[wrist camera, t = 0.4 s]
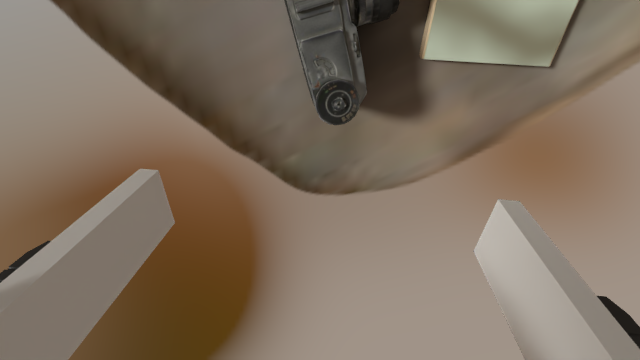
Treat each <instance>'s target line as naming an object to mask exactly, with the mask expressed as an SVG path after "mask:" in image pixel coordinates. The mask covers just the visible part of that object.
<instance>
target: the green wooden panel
mask: <svg viewBox="0 0 640 360" xmlns="http://www.w3.org/2000/svg"><path fill="white" fill-rule="evenodd" d="M578 2H579V0H431V1H430V6H429V10H428V15H427V20H426V25H425V29H424V34H423V39H422V43H421V48H420V53H419V57H420V58H422V59H429V60H445V61H462V62H479V63H496V64H513V65H530V66H546V67H549V66H550V65H551V62H552V60H553V58H554V56H555V53H556V51H557V49H558V47H559V45H560V42H561V40H562V38H563V36H564V33H565V31H566V29H567V27H568V24H569V22H570V20H571V18H572V16H573V13H574V11H575V9H576V7H577V4H578Z"/></svg>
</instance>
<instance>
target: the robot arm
mask: <svg viewBox="0 0 640 360" xmlns="http://www.w3.org/2000/svg"><path fill="white" fill-rule="evenodd" d="M174 223H175V222H174V219H173V215H172V212H171V209H170V206H169V203H168V199H167V196H166V193H165V190H164V187H163V184H162V181H161V177H160V174H159V171H158V170H148V169H139V170H138V171H137V172H135V173H134V174H133V175H132V176H130V177H129V178H128V179H127V180H126V181H124V182H123V183H122V184H121V185H119V186H118V187H117V188H116V189H115V190H113V191H112V192H111V193H110V194H108V195H107V196H106V197H105V198H104V199H102V200H101V201H100V202H99V203H98V204H96V205H95V206H94V207H93V208H92V209H90V210H89V211H88V212H86V213H85V214H84V215H83V216H82V217H80V218H79V219H78V220H77V221H76V222H74V223H73V224H72V225H71V226H69V227H68V228H67V229H66V230H65V231H63V232H62V233H61V234H60V235H58V236H57V237H56V238H55V239H54V240H52V241H47V242H45V243H43V244H41V245H40V246H38V247H36V248H34V249H32V250H30V251H28V252H27V253H25V254H24V255H23V256H22V257H21V258H19V259H18V260H17V261H15V262H14V263H13V264H12V265H10V266H9V269H8V270H4V271H3V272H1V273H0V360H68V359H69V357H70V356H71V355H72V354H73V352H74V351H75V350H76V349H77V347H78V346H79V345H80V344H81V342H82V341H83V340H84V338H85V337H86V336H87V335H88V333H89V332H90V331H91V329H92V328H93V327H94V326H95V324H96V323H97V322H98V320H99V319H100V318H101V317H102V315H103V314H104V313H105V312H106V310H107V309H108V308H109V306H110V305H111V304H112V302H113V301H114V300H115V299H116V297H117V296H118V295H119V294H120V292H121V291H122V290H123V289H124V287H125V286H126V285H127V283H128V282H129V281H130V279H131V278H132V277H133V276H134V274H135V273H136V272H137V271H138V269H139V268H140V266H141V265H142V264H143V263H144V262H145V260H146V259H147V258H148V256H149V255H150V254H151V253H152V251H153V250H154V249H155V247H156V246H157V245H158V244H159V242H160V241H161V240H162V238H163V237H164V236H165V235H166V233H167V232H168V231H169V229H170V228H171V227H172V226H173V224H174ZM474 253H475V256H476V258H477V260H478V262H479V264H480V266H481V268H482V270H483V272H484V274H485V277H486V279H487V281H488V283H489V285H490V287H491V289H492V291H493V293H494V296H495V298H496V300H497V302H498V304H499V306H500V308H501V310H502V312H503V315H504V317H505V319H506V321H507V323H508V325H509V327H510V329H511V331H512V333H513V335H514V338H515V340H516V342H517V344H518V346H519V348H520V350H521V353H522V354H523V357H524V359H525V360H640V327H639V326H638V325H637V324H636V323H635V321H634V320H633V319H632V318H631V317H630V315H628V314H627V313H626V312H625V311H624V310H622V309H621V308H620V307H619V306H617V305H616V304H615V303H613V302H612V301H611V300H610V299H608V298H607V297H604V296H596V295H595V293H594V292H593V291H592V290H591V289H590V287H589V286H588V285H587V284H586V282H585V281H584V280H583V279H582V278H581V276H580V275H579V274H578V273H577V271H576V270H575V269H574V268H573V267H572V265H571V264H570V263H569V261H568V260H567V259H566V258H565V257H564V255H563V254H562V253H561V252H560V250H559V249H558V248H557V247H556V245H555V244H554V243H553V242H552V241H551V240H550V238H549V237H548V236H547V235H546V233H545V232H544V231H543V229H542V228H541V227H540V226H539V225H538V223H537V222H536V221H535V220H534V218H533V217H532V216H531V215H530V214H529V212H528V211H527V210H526V209H525V207H524V206H523V205H522V204H521V202H520V201H511V200H500V199H499V200H498V201H497V203H496V205H495V207H494V209H493V211H492V213H491V216H490V218H489V220H488V222H487V224H486V226H485V228H484V230H483V232H482V235H481V237H480V239H479V241H478V243H477V245H476V247H475V249H474Z"/></svg>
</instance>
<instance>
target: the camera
mask: <svg viewBox="0 0 640 360" xmlns="http://www.w3.org/2000/svg"><path fill="white" fill-rule="evenodd" d="M284 1H285V4H286V8H287V11H288V15H289V18H290V22H291V26H292V30H293V33H294V37H295V41H296V44H297V48H298V52H299V55H300V59H301V63H302V66H303V70H304V74H305V77H306V81H307V84H308V88H309V91H310V94H311V98H312V101H313V103H314V106H315V108H316V110H317V113H318V114H319V117H320V119H321V120H322V121H324V122H326V123H328V124H333V125H340V124H345V123H347V122H349V121H350V120H351V119H352V118H353V117H354V116H355V115H356V113H357V111H358V110H359V104H361V102H362V101H363V99H364V97H365V96H366V94H367V88H366V81H365V74H364V68H363V62H362V56H361V50H360V43H359V37H358V33H357V28H356V27H357V26H361V25H363V24H366V23H368V24H371V23H375V22H379V21H383V20H386V19H388V18H389V17H390V15H391V14H393V13H395V12H396V10H397V8H398V5H399V0H284Z"/></svg>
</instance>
